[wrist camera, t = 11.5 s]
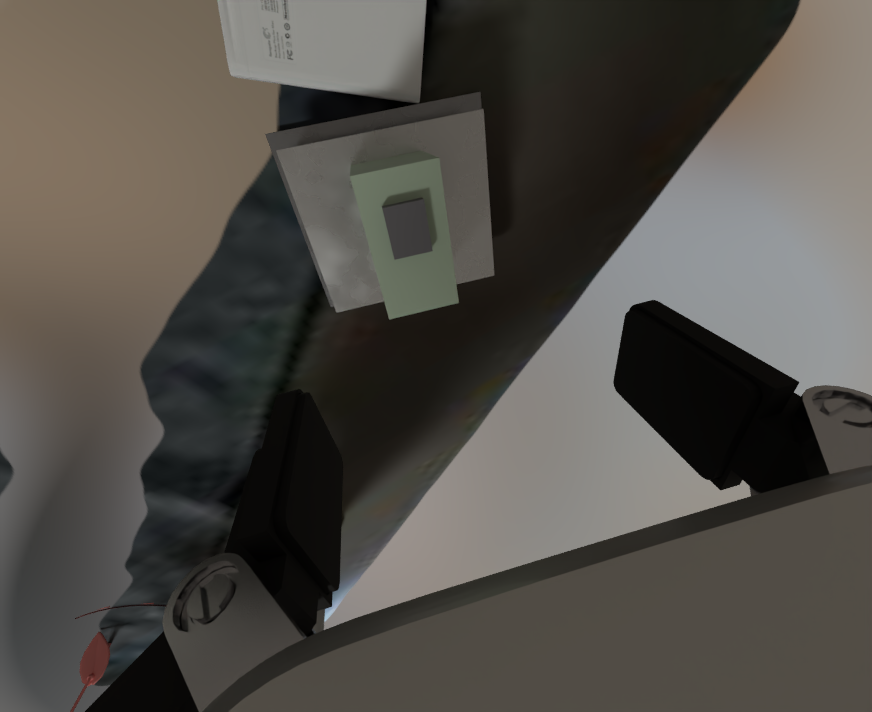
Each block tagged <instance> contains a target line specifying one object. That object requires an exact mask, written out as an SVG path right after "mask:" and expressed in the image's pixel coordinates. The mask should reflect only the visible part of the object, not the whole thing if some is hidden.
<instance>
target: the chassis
mask: <svg viewBox="0 0 872 712" xmlns="http://www.w3.org/2000/svg"><path fill="white" fill-rule="evenodd" d="M266 137H267V140H268V143H269V145H270V148H271V151H272V153H273V156H274V159H275V161H276V164H277V166H278V169H279V172H280V174H281V177H282V180H283V182H284V185H285V188H286V190H287V193H288V195H289V198H290V201H291V203H292V206H293V209H294V211H295V214H296V217H297V219H298V222H299V224H300V227H301V230H302V232H303V235H304V238H305V240H306V243H307V245H308V248H309V251H310V253H311V256H312V259H313V261H314V264H315V267H316V269H317V272H318V274H319V277H320V280H321V282H322V285H323V288H324V290H325V293H326V296H327V298H328V301H329V303H330V306H331V307H335V310H336V313H337V312H342V311H346V310H350V309H354V308H358V307H363V306H367V305H371V304H375V303H380V302H384V299H383V295H382V291H381V288H380V284H379V280H378V277H377V273H376V270H375V266H374V262H373V259H372V255H371V251H370V248H369V244H368V240H367V237H366V233H365V230H364V226H363V222H362V219H361V215H360V211H359V208H358V204H357V200H356V197H355V193H354V190H353V186H352V182H351V179H350V167H351V165H355V164H359V163H364V162H369V161H374V160H379V159H384V158H388V157H393V156H398V155H403V154H408V153H413V152H418V151H424V152H426V153H429V154H431V155H434V156H436V157H439V160H440V167H441V174H442V182H443V189H444V197H445V204H446V211H447V219H448V226H449V234H450V241H451V248H452V256H453V263H454V271H455V278H456V284H460V283H464V282H469V281H473V280H477V279H481V278H486V277H490V276H494V261H493V246H492V231H491V215H490V200H489V184H488V169H487V154H486V138H485V123H484V109H482V105H481V92H476V93H471V94H466V95H461V96H456V97H451V98H446V99H441V100H436V101H431V102H426V103H421V104H416V105H410V106H405V107H400V108H395V109H390V110H385V111H380V112H375V113H370V114H365V115H360V116H355V117H350V118H344V119H339V120H334V121H329V122H324V123H319V124H314V125H309V126H304V127H299V128H294V129H289V130H284V131H278V132H273V133H269V134H266Z"/></svg>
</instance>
